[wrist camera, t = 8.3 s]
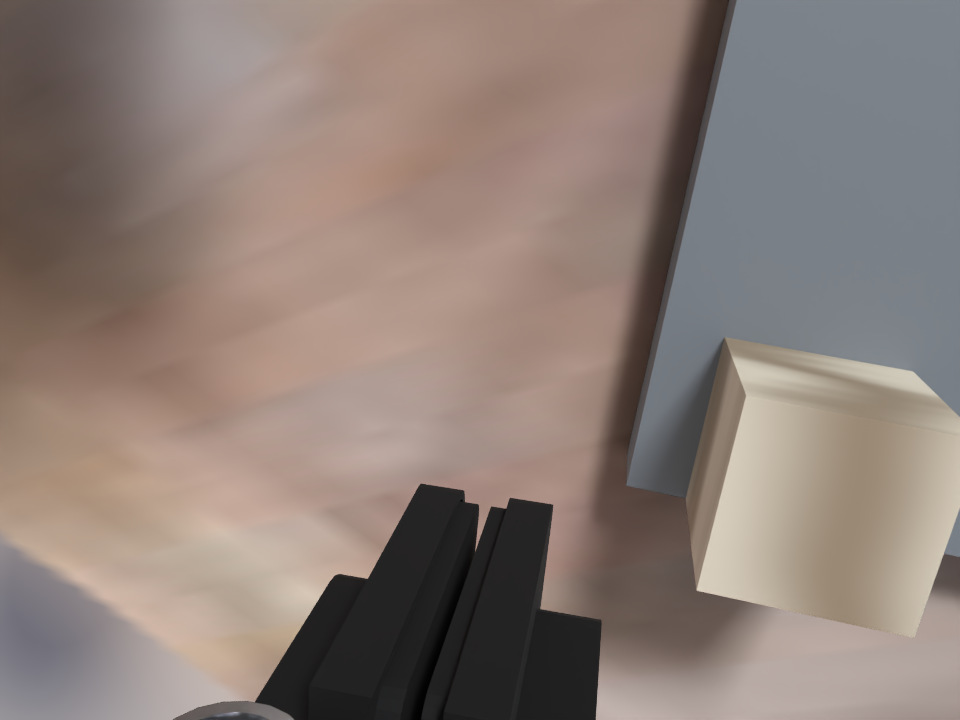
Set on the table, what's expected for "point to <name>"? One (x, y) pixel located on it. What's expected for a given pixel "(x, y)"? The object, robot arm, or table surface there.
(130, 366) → the table surface
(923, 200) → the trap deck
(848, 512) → the block
